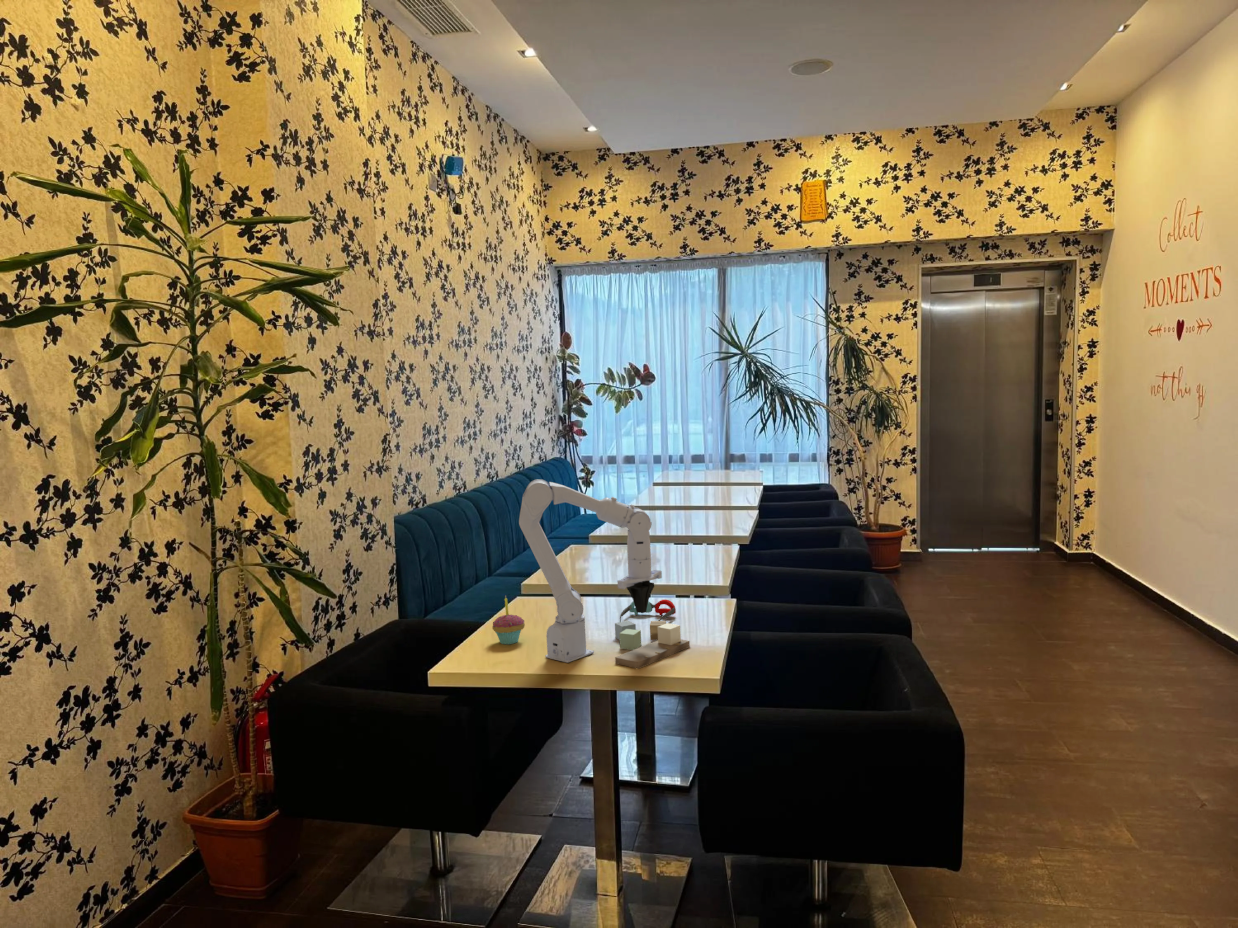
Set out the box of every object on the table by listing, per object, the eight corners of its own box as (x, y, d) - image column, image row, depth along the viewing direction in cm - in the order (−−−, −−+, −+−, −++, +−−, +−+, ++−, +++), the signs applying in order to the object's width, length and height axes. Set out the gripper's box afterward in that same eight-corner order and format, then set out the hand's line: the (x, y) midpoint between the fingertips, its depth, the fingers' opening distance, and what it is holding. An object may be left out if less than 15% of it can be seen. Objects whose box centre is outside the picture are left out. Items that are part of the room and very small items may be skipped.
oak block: (665, 640, 218) (665, 625, 217) (650, 640, 218) (649, 625, 218) (666, 635, 222) (666, 620, 221) (651, 635, 222) (650, 621, 222)
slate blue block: (622, 641, 218) (621, 626, 218) (615, 638, 222) (614, 623, 221) (636, 639, 220) (635, 623, 220) (628, 635, 224) (628, 620, 223)
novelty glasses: (677, 616, 241) (676, 599, 241) (661, 631, 227) (660, 612, 227) (631, 614, 246) (631, 597, 246) (613, 628, 232) (612, 610, 232)
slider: (670, 645, 208) (670, 629, 207) (658, 642, 210) (657, 626, 210) (680, 641, 211) (680, 625, 210) (668, 638, 213) (667, 623, 213)
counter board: (638, 668, 196) (637, 661, 196) (615, 663, 201) (615, 656, 200) (689, 646, 211) (689, 640, 211) (667, 642, 215) (667, 635, 215)
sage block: (634, 650, 210) (633, 634, 210) (620, 648, 212) (619, 633, 212) (641, 645, 214) (640, 630, 214) (627, 644, 216) (626, 628, 215)
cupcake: (490, 639, 225) (487, 595, 224) (521, 635, 228) (519, 591, 227) (497, 648, 217) (494, 602, 216) (529, 643, 220) (527, 598, 219)
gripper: (632, 564, 201) (634, 620, 202) (670, 554, 211) (672, 607, 212) (610, 561, 205) (612, 616, 206) (648, 551, 216) (650, 604, 217)
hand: (641, 611), depth 210 cm, fingers closed
